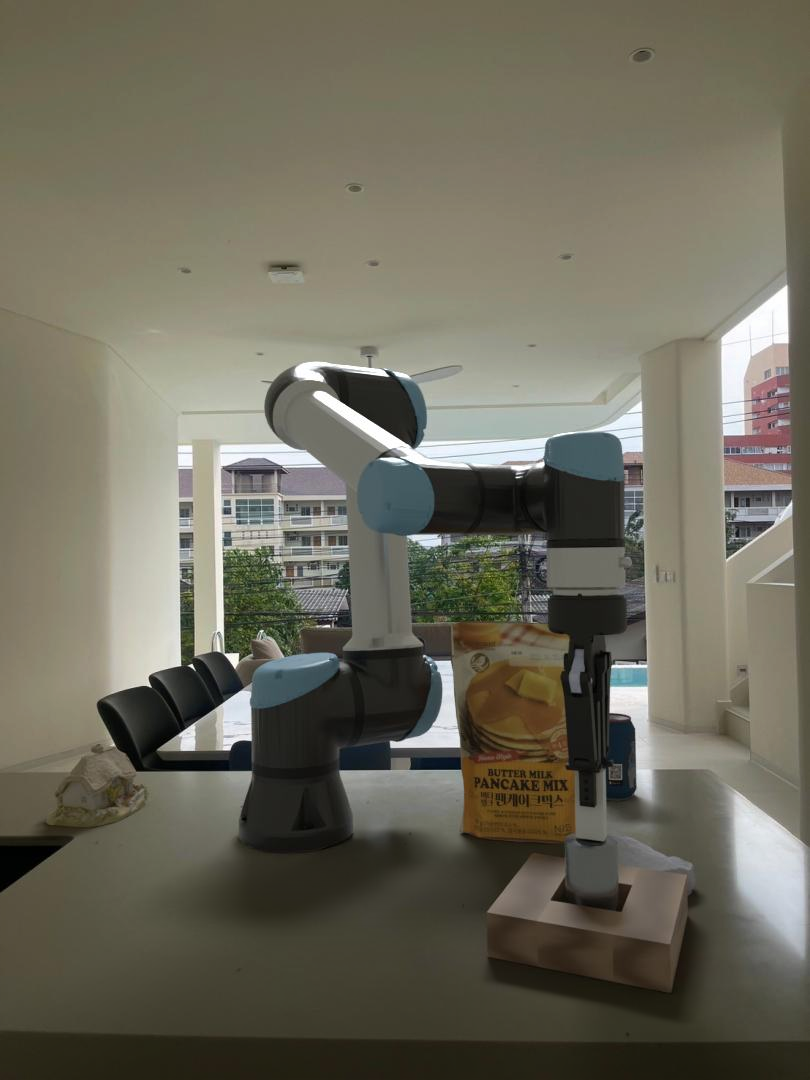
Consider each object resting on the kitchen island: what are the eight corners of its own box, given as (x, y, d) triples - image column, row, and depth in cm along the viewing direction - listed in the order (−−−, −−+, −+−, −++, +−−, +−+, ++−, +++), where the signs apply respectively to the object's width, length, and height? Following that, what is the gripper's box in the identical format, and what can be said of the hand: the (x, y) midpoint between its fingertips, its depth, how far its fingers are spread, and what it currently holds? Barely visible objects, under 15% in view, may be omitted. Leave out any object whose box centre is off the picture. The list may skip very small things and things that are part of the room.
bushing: (560, 941, 76) (559, 844, 76) (572, 920, 80) (570, 828, 81) (614, 951, 74) (612, 851, 74) (623, 928, 78) (621, 834, 79)
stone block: (629, 873, 97) (565, 871, 93) (635, 833, 98) (572, 829, 93) (707, 914, 87) (638, 915, 82) (714, 869, 87) (646, 867, 83)
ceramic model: (94, 833, 109) (94, 758, 109) (30, 824, 113) (30, 752, 113) (161, 803, 122) (160, 737, 122) (102, 796, 126) (101, 732, 126)
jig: (487, 956, 73) (486, 912, 73) (533, 890, 88) (532, 853, 88) (671, 993, 67) (670, 944, 67) (687, 914, 81) (687, 874, 81)
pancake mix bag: (454, 821, 111) (452, 619, 112) (596, 829, 107) (592, 619, 108) (447, 838, 104) (444, 623, 105) (597, 847, 100) (593, 623, 101)
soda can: (588, 788, 126) (586, 711, 127) (633, 789, 125) (631, 712, 126) (592, 801, 119) (590, 720, 120) (640, 802, 119) (638, 721, 119)
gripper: (614, 595, 70) (620, 866, 70) (635, 590, 82) (640, 821, 82) (531, 595, 74) (535, 854, 73) (563, 589, 85) (567, 812, 85)
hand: (591, 836), depth 77 cm, fingers closed
